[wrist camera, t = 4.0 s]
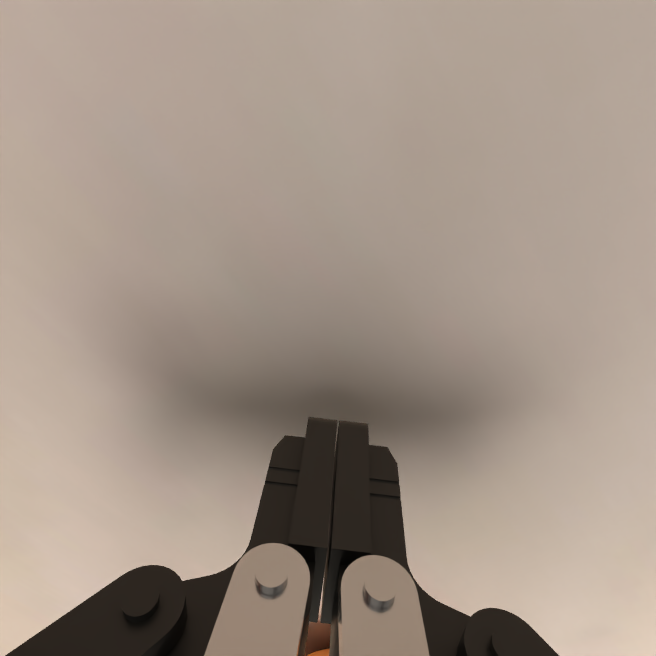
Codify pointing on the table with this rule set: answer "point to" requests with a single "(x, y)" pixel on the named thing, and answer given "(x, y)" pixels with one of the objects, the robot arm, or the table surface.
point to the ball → (320, 653)
